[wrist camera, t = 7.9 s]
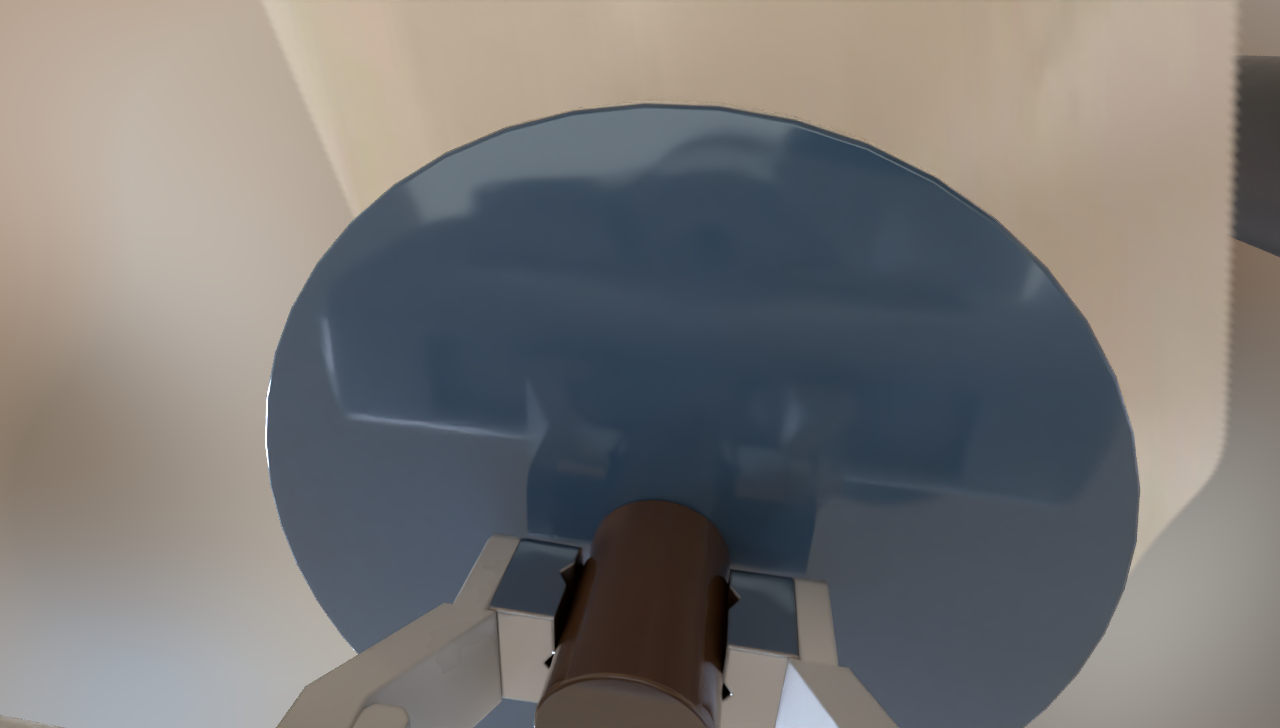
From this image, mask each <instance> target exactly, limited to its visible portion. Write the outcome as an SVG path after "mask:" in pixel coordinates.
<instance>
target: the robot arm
mask: <svg viewBox="0 0 1280 728" xmlns="http://www.w3.org/2000/svg"><path fill="white" fill-rule="evenodd" d="M583 566H584V560H583V549H582V548H581V547H576V546H570V545H564V544H558V543H553V542H547V541H541V540H535V539H529V538H519V537H514V536H508V535H502V534H496V533H495V534H494V535H492V536H491V537H490V538H489V539H488V541H487V542H486V544H485V546H484V548H483V550H482V551H481V553H480V555H479V557H478V559H477V561H476V562H475V564H474V566H473V568H472V570H471V571H470V573H469V575H468V577H467V579H466V581H465V582H464V584H463V586H462V588H461V590H460V591H459V593H458V595H457V597H456V599H455V601H454V602H453V604H448V603H443V604H441V605H440V606H438V607H436V608H435V609H433V610H431V611H430V612H428V613H426V614H425V615H423V616H421V617H420V618H418V619H416V620H415V621H413V622H411V623H410V624H408V625H406V626H405V627H403V628H401V629H400V630H398V631H396V632H395V633H393V634H392V635H390V636H388V637H387V638H385V639H383V640H382V641H380V642H378V643H377V644H375V645H373V646H372V647H370V648H368V649H367V650H365V651H363V652H362V653H360V654H358V655H357V656H355V657H353V658H352V659H350V660H348V661H347V662H345V663H344V664H342V665H340V666H339V667H337V668H335V669H334V670H332V671H330V672H329V673H327V674H326V675H324V676H322V677H320V678H319V679H317V680H315V681H314V682H312V683H310V684H309V685H307V686H305V688H304V689H303V691H302V692H301V693H300V695H299V696H298V698H297V699H296V700H295V702H294V703H293V705H292V706H291V708H290V709H289V710H288V712H287V713H286V715H285V716H284V717H283V719H282V720H281V722H280V723H279V725H278V726H277V727H276V728H473V727H475V726H476V725H477V724H478V723H479V722H480V721H481V720H482V719H483V718H484V717H485V716H486V715H487V714H489V713H490V712H491V711H492V710H493V709H494V708H495V707H496V706H497V705H498V704H499V703H500V702H501V701H502V700H501V698H506V699H513V700H520V701H527V702H534V703H538V701H539V698H540V695H541V692H542V689H543V686H544V683H545V680H546V677H547V674H548V671H549V668H550V665H551V662H552V659H553V656H554V653H555V650H556V647H557V644H558V641H559V638H560V635H561V632H562V629H563V626H564V623H565V620H566V617H567V614H568V611H569V608H570V605H571V602H572V599H573V596H574V593H575V590H576V587H577V584H578V581H579V578H580V575H581V572H582V569H583ZM726 621H727V624H726V631H725V637H724V656H723V675H722V676H723V683H724V685H723V703H722V721H721V728H899V727H898V726H897V725H896V724H895V723H894V721H893V720H892V719H891V718H890V717H889V715H888V714H887V713H886V712H885V711H884V709H883V708H882V707H881V706H880V705H879V703H878V702H877V701H876V700H875V699H874V697H873V696H872V695H871V694H870V693H869V692H868V690H867V689H866V688H865V687H864V686H863V684H862V683H861V682H860V681H859V680H858V678H857V677H856V676H855V675H854V674H853V672H852V671H851V670H850V669H849V668H846V667H841V666H839V665H838V657H837V650H836V642H835V635H834V627H833V620H832V612H831V604H830V597H829V589H828V585H827V584H826V582H825V581H818V580H811V579H803V578H795V577H793V579H792V578H791V577H784V576H777V575H770V574H763V573H755V572H748V571H741V570H734V569H730V573H729V579H728V588H727V603H726ZM0 728H63V727H58V726H53V725H48V724H43V723H38V722H33V721H28V720H23V719H18V718H13V717H8V716H3V715H0Z"/></svg>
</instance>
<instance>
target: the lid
mask: <svg viewBox="0 0 1280 728" xmlns="http://www.w3.org/2000/svg"><path fill="white" fill-rule="evenodd" d="M265 432H266V433H265V444H266V452H267V461H268V470H269V477H270V485H271V489H272V493H273V497H274V500H275V504H276V508H277V512H278V515H279V520H280V523H281V527H282V529H283V531H284V534H285V536H286V539H287V541H288V544H289V546H290V549H291V551H292V554H293V556H294V559H295V561H296V563H297V566H298V567H299V569H300V571H301V573H302V575H303V576H304V578H305V580H306V582H307V584H308V585H309V587H310V589H311V591H312V592H313V594H314V596H315V598H316V600H317V601H318V603H319V604H320V606H321V607H322V608H323V610H324V611H325V613H326V614H327V616H328V617H329V619H330V620H331V621H332V623H333V624H334V626H335V627H336V628H337V630H338V631H339V633H340V634H341V635H342V636H343V638H344V639H345V640H346V641H347V642H348V643H349V645H350V646H351V647H352V648H353V649H354V650H355V651H356V653H357V654H360V653H362V652H363V651H365V650H367V649H368V648H370V647H372V646H373V645H375V644H377V643H378V642H380V641H382V640H383V639H385V638H387V637H388V636H390V635H392V634H393V633H395V632H396V631H398V630H400V629H401V628H403V627H405V626H406V625H408V624H410V623H411V622H413V621H415V620H416V619H418V618H420V617H421V616H423V615H425V614H426V613H428V612H430V611H431V610H433V609H435V608H436V607H438V606H440V605H441V604H443V603H448V604H453V602H454V601H455V599H456V597H457V595H458V593H459V591H460V590H461V588H462V586H463V584H464V582H465V581H466V579H467V577H468V575H469V573H470V571H471V570H472V568H473V566H474V564H475V562H476V561H477V559H478V557H479V555H480V553H481V551H482V550H483V548H484V546H485V544H486V542H487V541H488V539H489V538H490V537H491V536H492V535H494V534H495V533H496V534H502V535H508V536H514V537H519V538H529V539H535V540H541V541H547V542H553V543H558V544H564V545H570V546H576V547H581V548H582V549H583V560H584V566H583V569H582V572H581V575H580V578H579V581H578V584H577V587H576V590H575V593H574V596H573V599H572V602H571V605H570V608H569V611H568V614H567V617H566V620H565V623H564V626H563V629H562V632H561V635H560V638H559V641H558V644H557V647H556V650H555V653H554V656H553V659H552V662H551V665H550V668H549V671H548V674H547V677H546V680H545V683H544V686H543V689H542V692H541V695H540V698H539V701H538V703H534V702H527V701H520V700H513V699H506V698H501V700H502V701H501V702H500V703H499V704H498V705H497V706H496V707H495V708H494V709H493V710H492V711H491V712H490V713H489V714H487V715H486V716H485V717H484V718H483V719H482V720H481V721H480V722H479V723H478V724H477V725H476V726H475V727H473V728H721V721H722V703H723V685H724V683H723V676H722V675H723V656H724V637H725V631H726V624H727V621H726V603H727V588H728V579H729V573H730V569H734V570H741V571H748V572H755V573H763V574H770V575H777V576H784V577H791V578H792V579H793V577H795V578H803V579H811V580H818V581H825V582H826V584H827V585H828V589H829V597H830V604H831V612H832V620H833V627H834V635H835V642H836V650H837V657H838V665H839V666H841V667H846V668H849V669H850V670H851V671H852V672H853V674H854V675H855V676H856V677H857V678H858V680H859V681H860V682H861V683H862V684H863V686H864V687H865V688H866V689H867V690H868V692H869V693H870V694H871V695H872V696H873V697H874V699H875V700H876V701H877V702H878V703H879V705H880V706H881V707H882V708H883V709H884V711H885V712H886V713H887V714H888V715H889V717H890V718H891V719H892V720H893V721H894V723H895V724H896V725H897V726H898V727H899V728H1024V727H1026V726H1027V725H1028V724H1029V723H1030V722H1032V721H1033V720H1034V719H1035V718H1036V717H1037V716H1039V715H1040V714H1041V713H1042V712H1043V711H1045V710H1046V709H1047V708H1048V707H1049V706H1050V705H1051V703H1052V702H1053V701H1054V700H1055V699H1056V698H1057V697H1058V696H1059V695H1060V694H1061V693H1062V691H1063V690H1064V689H1065V688H1066V687H1067V686H1068V685H1069V684H1070V683H1071V681H1072V680H1073V679H1074V678H1075V677H1076V676H1077V675H1078V674H1079V672H1080V671H1081V669H1082V668H1083V666H1084V664H1085V663H1086V661H1087V660H1088V658H1089V657H1090V655H1091V654H1092V652H1093V651H1094V649H1095V648H1096V646H1097V645H1098V643H1099V642H1100V640H1101V639H1102V637H1103V636H1104V634H1105V632H1106V630H1107V628H1108V625H1109V623H1110V621H1111V618H1112V616H1113V614H1114V612H1115V609H1116V607H1117V605H1118V603H1119V600H1120V598H1121V596H1122V594H1123V592H1124V589H1125V585H1126V581H1127V577H1128V573H1129V569H1130V565H1131V561H1132V557H1133V554H1134V550H1135V546H1136V542H1137V527H1138V512H1139V497H1140V483H1139V475H1138V466H1137V458H1136V449H1135V441H1134V432H1133V429H1132V426H1131V422H1130V419H1129V416H1128V413H1127V409H1126V406H1125V403H1124V400H1123V397H1122V393H1121V390H1120V387H1119V384H1118V380H1117V377H1116V375H1115V373H1114V371H1113V369H1112V367H1111V365H1110V363H1109V361H1108V359H1107V357H1106V355H1105V353H1104V352H1103V350H1102V348H1101V346H1100V344H1099V342H1098V340H1097V338H1096V336H1095V334H1094V332H1093V330H1092V328H1091V326H1090V324H1089V323H1088V321H1087V319H1086V318H1085V317H1084V315H1083V314H1082V313H1081V311H1080V310H1079V309H1078V307H1077V306H1076V305H1075V303H1074V302H1073V301H1072V299H1071V298H1070V297H1069V295H1068V294H1067V293H1066V292H1065V290H1064V289H1063V288H1062V286H1061V285H1060V284H1059V282H1058V281H1057V280H1056V278H1055V277H1054V276H1053V274H1052V273H1051V272H1050V270H1049V269H1048V268H1047V267H1046V266H1045V265H1044V264H1043V263H1042V262H1041V261H1040V260H1039V259H1038V258H1037V257H1036V256H1035V255H1034V254H1033V253H1032V252H1031V251H1029V250H1028V249H1027V248H1026V247H1025V246H1024V245H1023V244H1022V243H1021V242H1020V241H1019V240H1018V239H1017V238H1016V237H1015V236H1014V235H1013V234H1012V233H1011V232H1010V231H1009V230H1008V229H1006V228H1005V227H1004V226H1003V225H1002V224H1001V223H1000V222H999V221H998V220H997V219H996V218H994V217H993V216H992V215H990V214H989V213H988V212H986V211H985V210H984V209H982V208H981V207H979V206H978V205H976V204H975V203H973V202H972V201H971V200H969V199H968V198H966V197H965V196H963V195H962V194H961V193H959V192H958V191H956V190H955V189H953V188H952V187H951V186H949V185H948V184H946V183H945V182H943V181H942V180H941V179H939V178H938V177H936V176H935V175H933V174H932V173H930V172H929V171H927V170H925V169H923V168H921V167H919V166H917V165H915V164H913V163H911V162H909V161H907V160H905V159H903V158H901V157H899V156H897V155H895V154H893V153H891V152H889V151H887V150H885V149H883V148H881V147H879V146H877V145H875V144H873V143H871V142H869V141H867V140H865V139H863V138H860V137H857V136H854V135H851V134H848V133H844V132H841V131H838V130H835V129H832V128H829V127H826V126H823V125H820V124H817V123H814V122H811V121H808V120H805V119H802V118H799V117H796V116H792V115H787V114H781V113H776V112H770V111H765V110H759V109H753V108H748V107H742V106H737V105H731V104H726V103H714V102H688V101H662V100H646V101H636V102H626V103H617V104H607V105H597V106H588V107H580V108H576V109H572V110H568V111H564V112H560V113H556V114H552V115H548V116H544V117H540V118H536V119H532V120H528V121H525V122H521V123H517V124H514V125H511V126H508V127H505V128H503V129H500V130H498V131H495V132H493V133H491V134H488V135H486V136H484V137H481V138H479V139H476V140H474V141H472V142H469V143H467V144H464V145H462V146H460V147H457V148H455V149H453V150H450V151H448V152H446V153H444V154H442V155H441V156H439V157H437V158H436V159H434V160H433V161H431V162H429V163H428V164H426V165H425V166H423V167H421V168H420V169H418V170H416V171H415V172H413V173H412V174H410V175H408V176H407V177H405V178H404V179H402V180H400V181H399V182H397V183H395V184H394V185H393V186H392V187H390V188H389V189H388V190H387V191H386V192H385V193H383V194H382V195H381V196H380V197H379V198H378V199H377V200H375V201H374V202H373V203H372V204H371V205H370V206H369V207H367V208H366V209H365V210H364V211H363V212H362V213H360V214H359V215H358V216H357V217H356V218H355V219H354V220H352V221H351V222H350V224H349V225H348V226H347V227H346V228H345V230H344V231H343V232H342V233H341V234H340V236H339V237H338V238H337V239H336V241H335V242H334V243H333V244H332V245H331V247H330V248H329V249H328V250H327V252H326V253H325V254H324V255H323V256H322V258H321V259H320V260H319V261H318V262H317V264H316V266H315V268H314V269H313V271H312V273H311V274H310V276H309V278H308V280H307V282H306V283H305V285H304V287H303V288H302V290H301V292H300V294H299V296H298V297H297V299H296V301H295V302H294V304H293V306H292V308H291V311H290V313H289V316H288V319H287V322H286V324H285V327H284V330H283V332H282V335H281V338H280V341H279V343H278V346H277V349H276V352H275V356H274V362H273V367H272V372H271V377H270V382H269V387H268V393H267V398H266V431H265Z"/></svg>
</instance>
